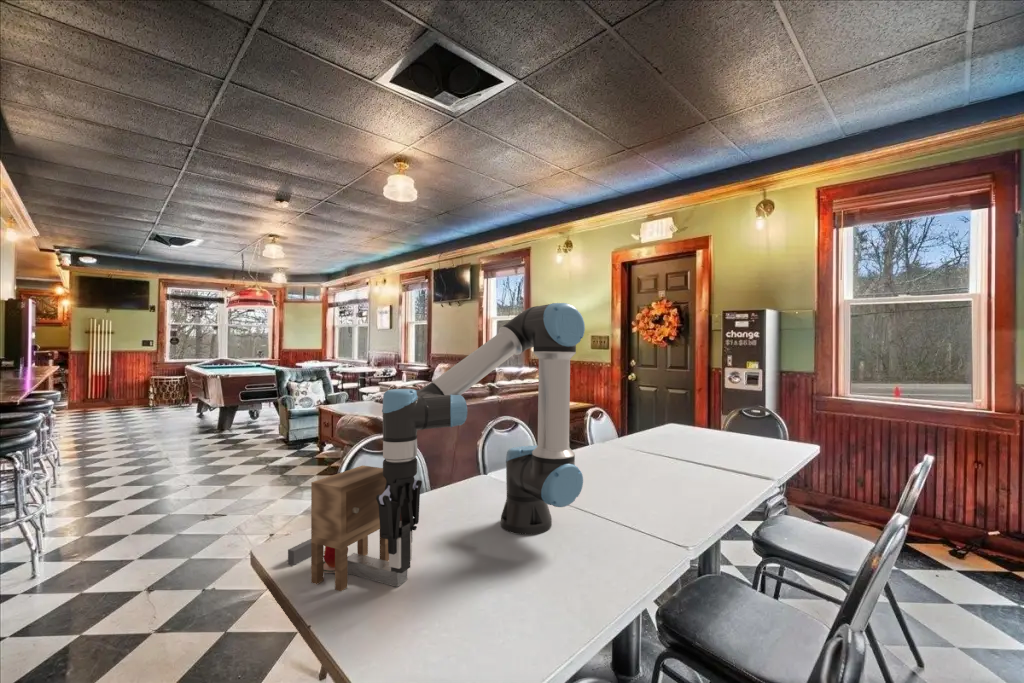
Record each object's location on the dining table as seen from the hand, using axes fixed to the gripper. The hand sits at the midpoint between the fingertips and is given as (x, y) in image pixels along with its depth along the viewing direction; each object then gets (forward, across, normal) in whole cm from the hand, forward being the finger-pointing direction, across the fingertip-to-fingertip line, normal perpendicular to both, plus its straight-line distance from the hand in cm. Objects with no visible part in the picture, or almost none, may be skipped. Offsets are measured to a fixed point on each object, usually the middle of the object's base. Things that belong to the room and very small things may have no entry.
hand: (400, 562), depth 100 cm
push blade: (+4, 0, -7) cm, 8 cm away
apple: (+5, 0, -20) cm, 20 cm away
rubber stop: (+4, 0, -30) cm, 31 cm away
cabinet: (+5, 0, -14) cm, 15 cm away
